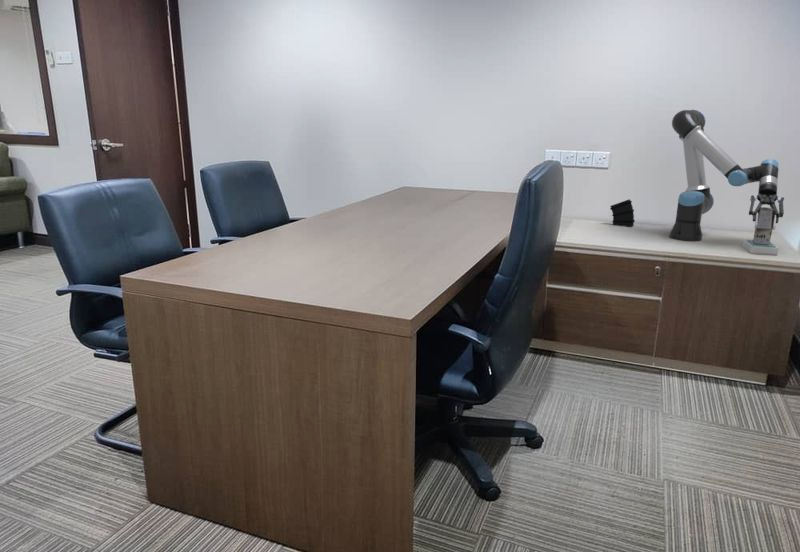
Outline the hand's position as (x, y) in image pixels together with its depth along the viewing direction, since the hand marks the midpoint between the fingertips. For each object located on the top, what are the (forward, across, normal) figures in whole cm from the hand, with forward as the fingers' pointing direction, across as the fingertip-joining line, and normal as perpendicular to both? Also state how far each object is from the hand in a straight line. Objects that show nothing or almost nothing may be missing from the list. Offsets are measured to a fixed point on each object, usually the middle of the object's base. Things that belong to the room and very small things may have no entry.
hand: (764, 227), depth 274 cm
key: (+5, 0, -10) cm, 11 cm away
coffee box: (+3, 0, -8) cm, 9 cm away
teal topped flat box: (+6, 0, -11) cm, 13 cm away
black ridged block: (-18, +66, -36) cm, 77 cm away
